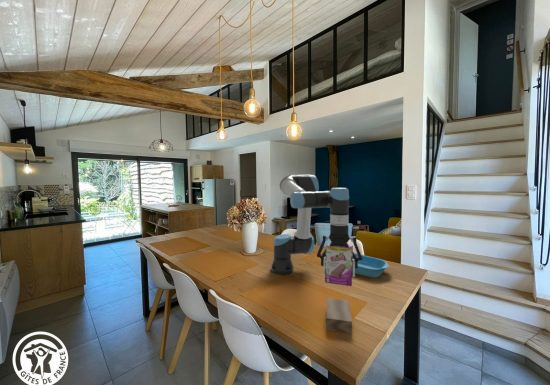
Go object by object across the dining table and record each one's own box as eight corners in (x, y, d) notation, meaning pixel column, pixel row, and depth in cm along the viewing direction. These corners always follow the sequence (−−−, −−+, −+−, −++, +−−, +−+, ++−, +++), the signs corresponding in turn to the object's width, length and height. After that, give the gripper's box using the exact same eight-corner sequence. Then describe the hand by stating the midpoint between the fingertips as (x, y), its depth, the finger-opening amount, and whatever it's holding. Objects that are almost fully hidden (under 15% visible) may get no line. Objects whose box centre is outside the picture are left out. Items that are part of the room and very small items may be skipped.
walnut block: (326, 329, 95) (326, 318, 94) (326, 308, 110) (327, 298, 110) (351, 333, 92) (352, 321, 92) (348, 310, 108) (349, 300, 108)
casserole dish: (393, 271, 153) (393, 260, 152) (382, 283, 136) (382, 271, 135) (340, 258, 177) (340, 249, 176) (326, 267, 160) (326, 257, 160)
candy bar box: (324, 283, 100) (325, 245, 98) (326, 278, 104) (326, 242, 103) (352, 287, 96) (352, 248, 95) (352, 281, 101) (352, 244, 99)
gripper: (310, 224, 98) (310, 275, 99) (370, 227, 92) (369, 280, 93) (311, 221, 105) (311, 268, 106) (367, 223, 99) (366, 273, 101)
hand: (338, 274), depth 100 cm, fingers closed on candy bar box, 11 cm apart
